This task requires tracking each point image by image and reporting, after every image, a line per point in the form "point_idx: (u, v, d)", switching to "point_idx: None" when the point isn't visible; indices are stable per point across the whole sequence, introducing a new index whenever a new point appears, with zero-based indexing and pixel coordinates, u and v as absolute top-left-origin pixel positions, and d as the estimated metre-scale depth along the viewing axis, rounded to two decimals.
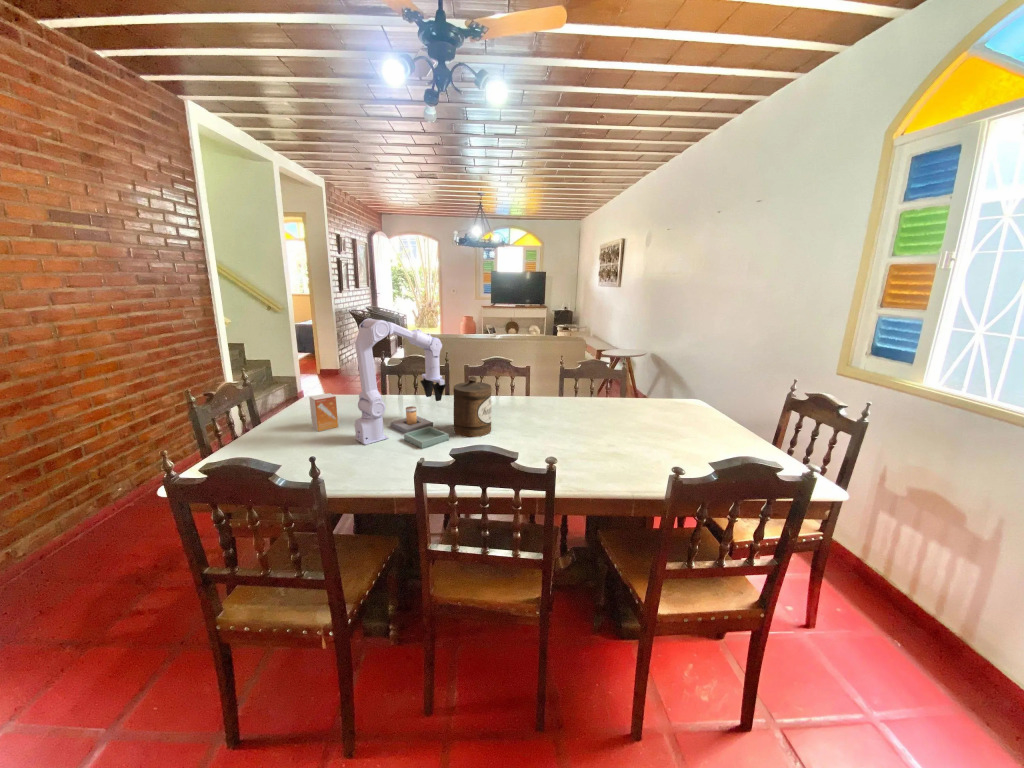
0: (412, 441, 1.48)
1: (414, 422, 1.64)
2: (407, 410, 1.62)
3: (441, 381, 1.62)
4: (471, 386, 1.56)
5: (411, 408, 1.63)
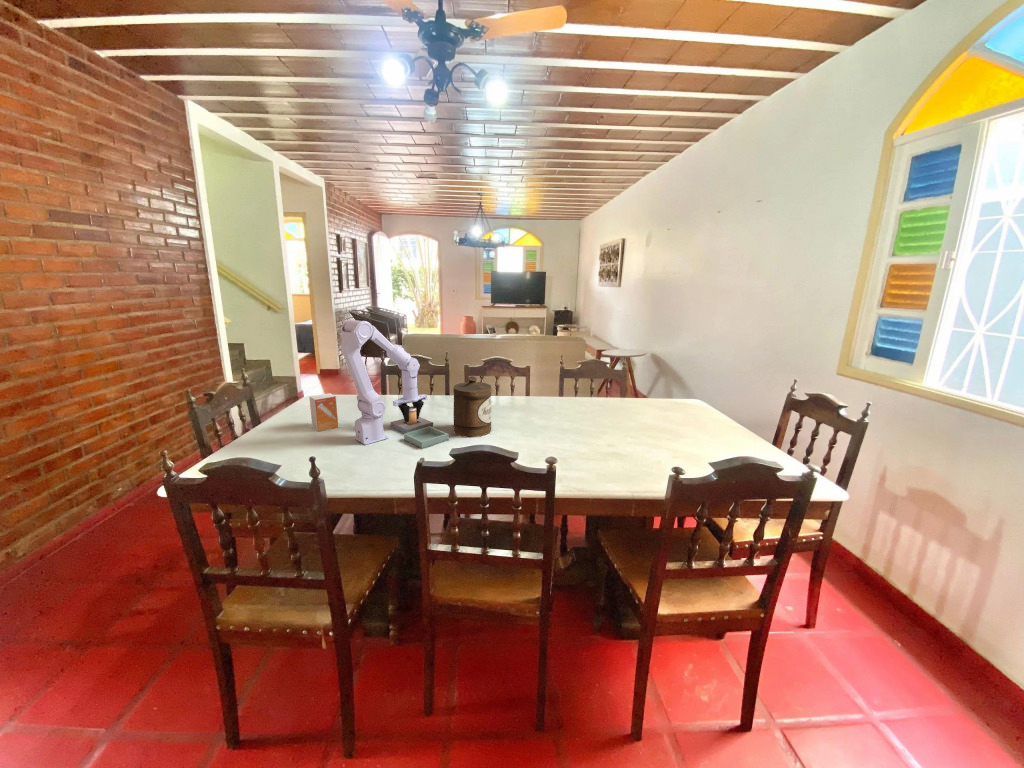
0: (412, 441, 1.48)
1: (414, 422, 1.64)
2: None
3: (393, 402, 1.58)
4: (471, 386, 1.56)
5: (411, 408, 1.63)
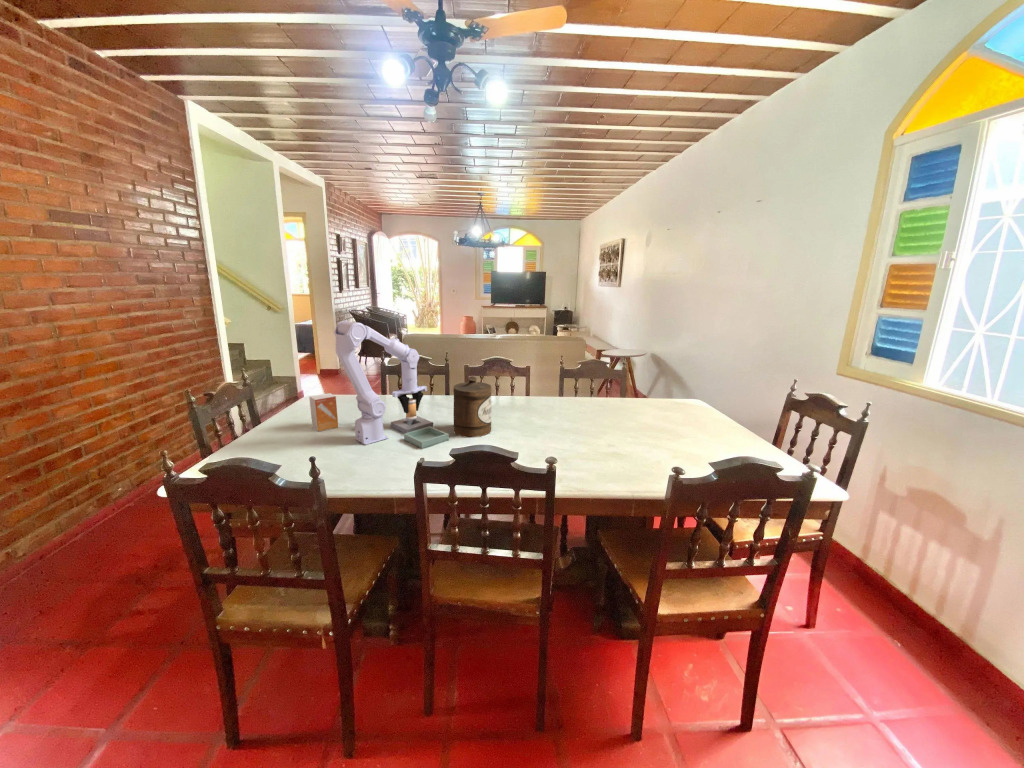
0: (412, 441, 1.48)
1: (414, 414, 1.63)
2: None
3: (393, 393, 1.57)
4: (471, 386, 1.56)
5: (411, 399, 1.62)
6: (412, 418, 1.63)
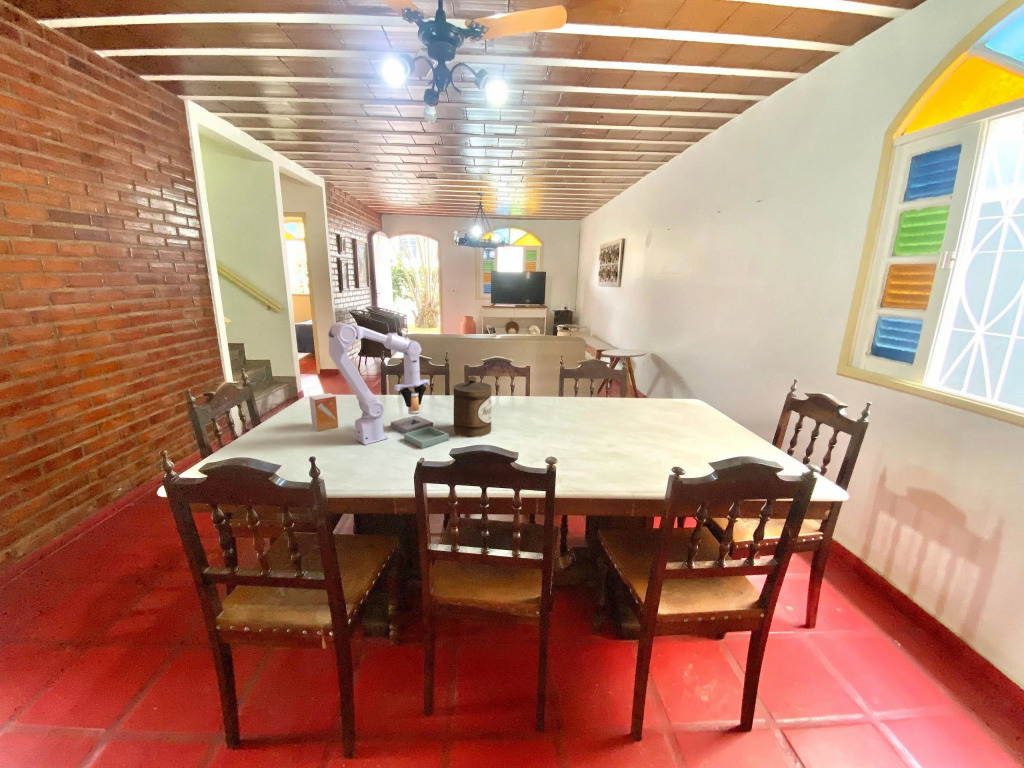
0: (412, 441, 1.48)
1: (416, 407, 1.59)
2: None
3: (395, 386, 1.54)
4: (471, 386, 1.56)
5: (413, 393, 1.59)
6: (415, 412, 1.59)
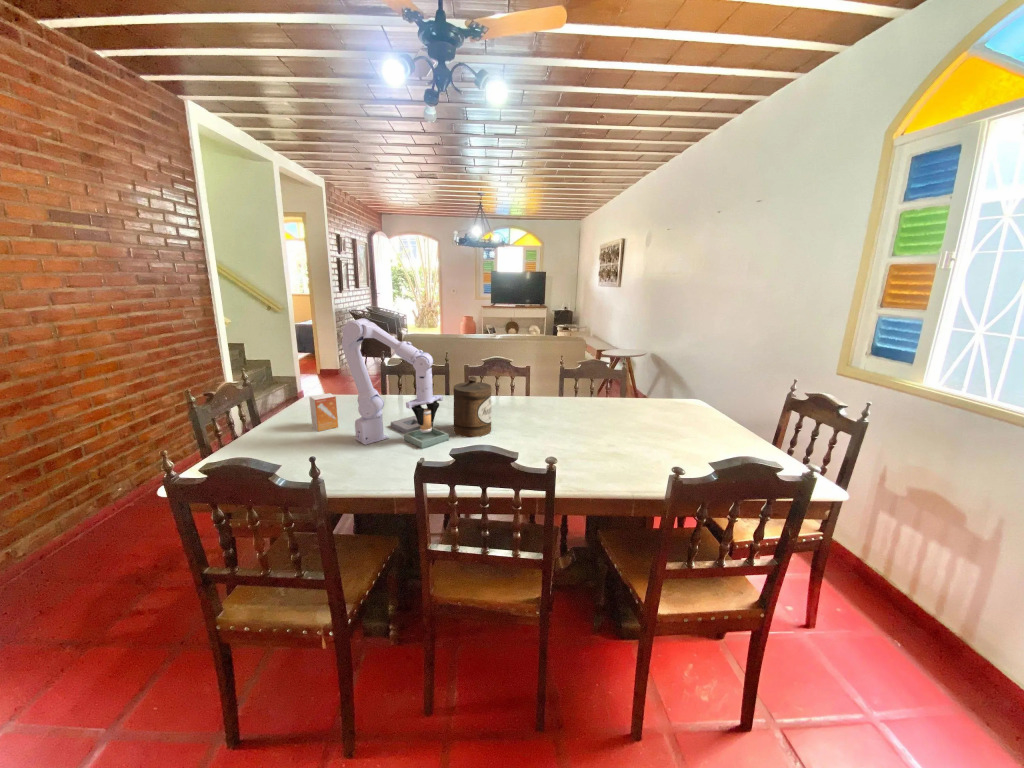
0: (412, 441, 1.48)
1: (428, 426, 1.50)
2: None
3: (406, 404, 1.44)
4: (471, 386, 1.56)
5: (425, 410, 1.49)
6: (427, 430, 1.49)
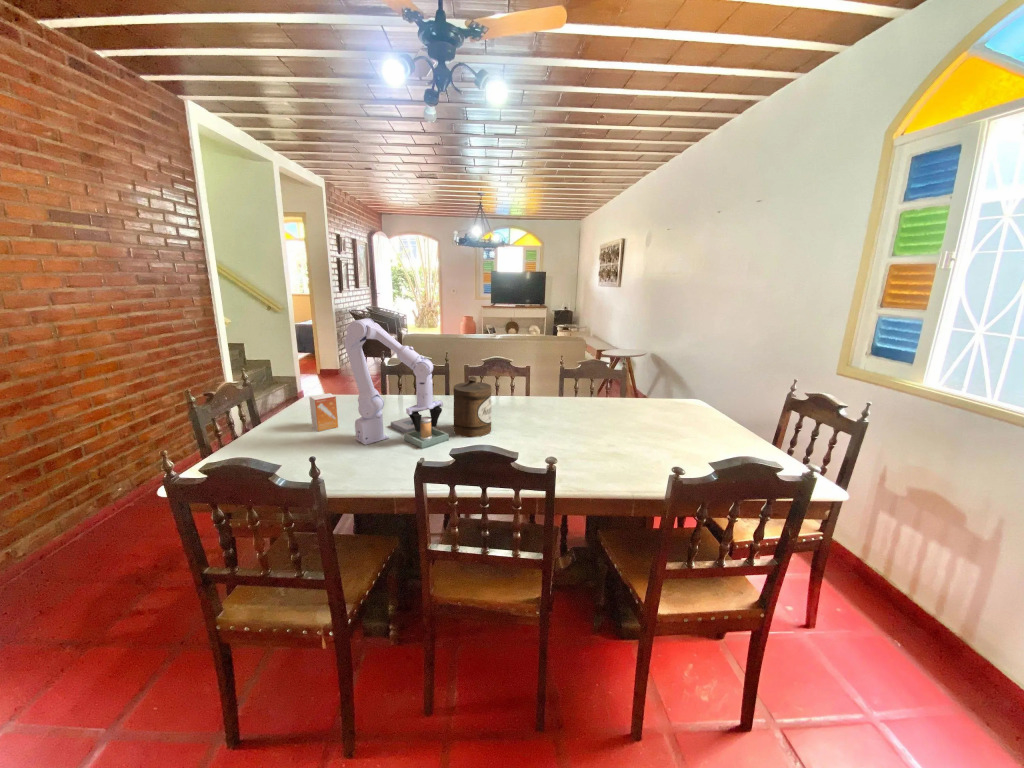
0: (412, 441, 1.48)
1: (429, 434, 1.50)
2: (421, 421, 1.49)
3: (407, 409, 1.44)
4: (471, 386, 1.56)
5: (425, 418, 1.50)
6: (427, 438, 1.50)
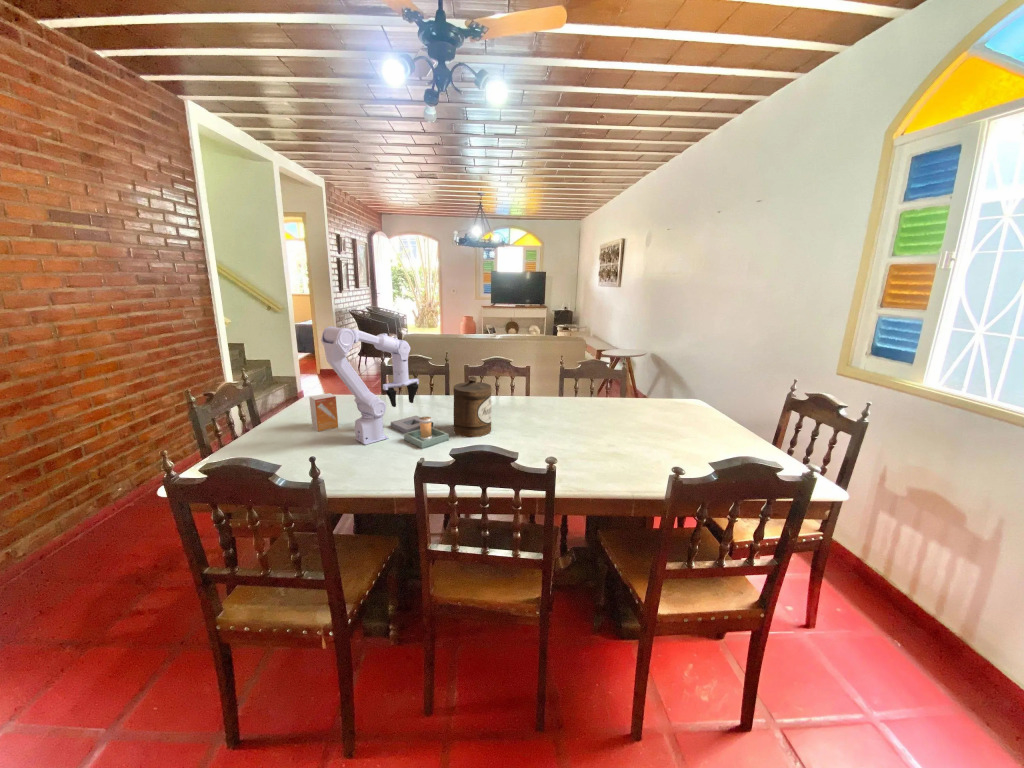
0: (412, 441, 1.48)
1: (429, 434, 1.50)
2: (421, 421, 1.49)
3: (383, 385, 1.55)
4: (471, 386, 1.56)
5: (425, 418, 1.50)
6: (427, 438, 1.50)
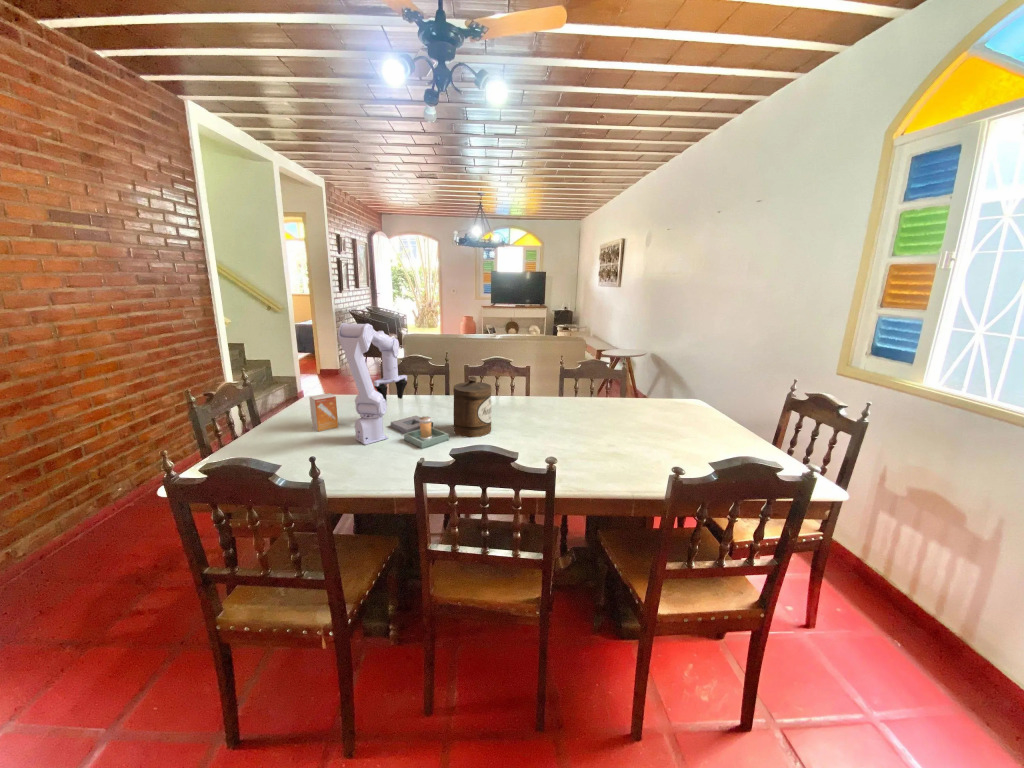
0: (412, 441, 1.48)
1: (429, 434, 1.50)
2: (421, 421, 1.49)
3: (374, 382, 1.60)
4: (471, 386, 1.56)
5: (425, 418, 1.50)
6: (427, 438, 1.50)
